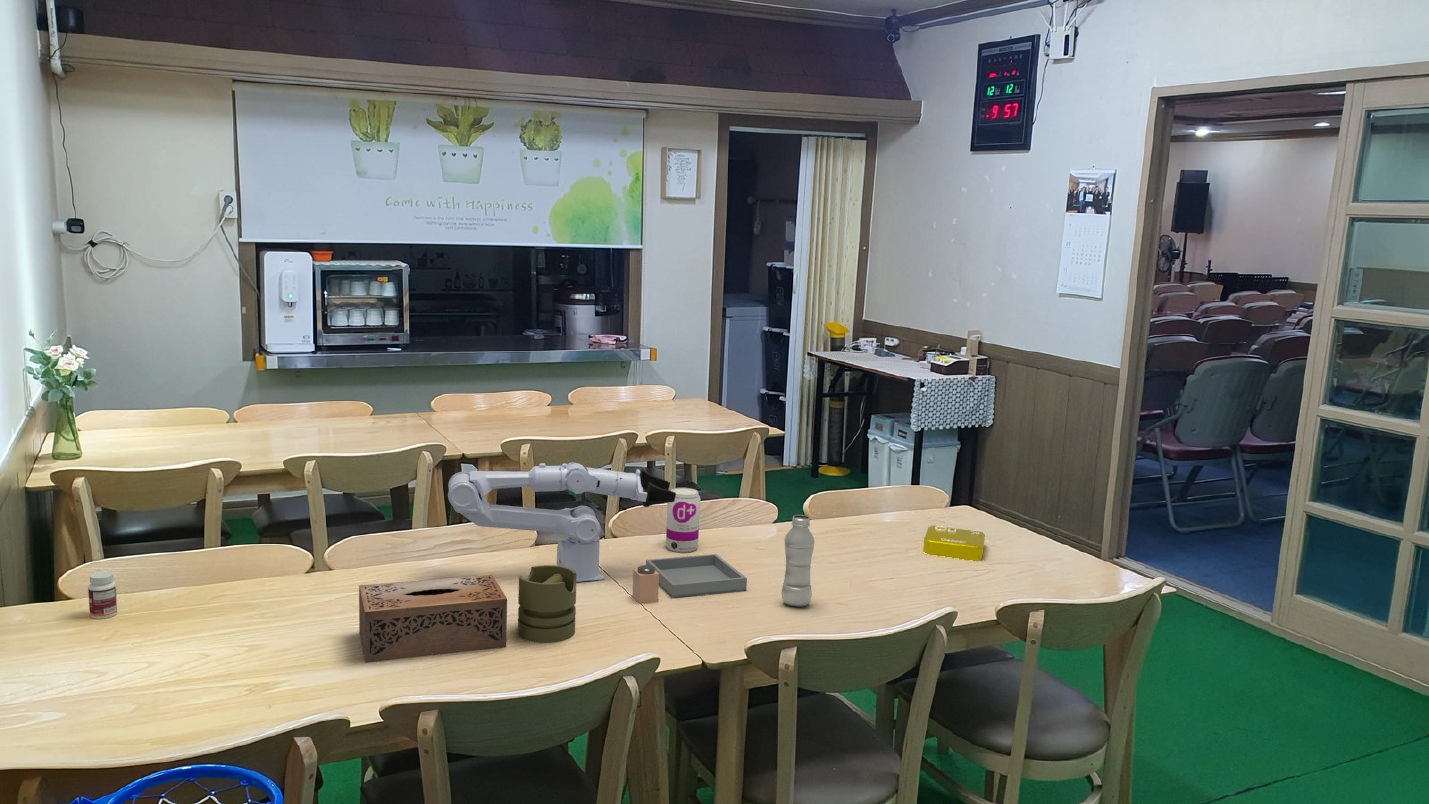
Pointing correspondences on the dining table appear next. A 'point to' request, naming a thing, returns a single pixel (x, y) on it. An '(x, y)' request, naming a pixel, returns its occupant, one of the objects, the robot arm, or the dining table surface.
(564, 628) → the piston
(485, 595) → the tissue box cover
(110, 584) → the pill bottle
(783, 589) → the plastic bottle
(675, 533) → the supplement can
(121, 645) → the dining table surface
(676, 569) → the tray
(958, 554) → the element tile
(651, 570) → the shaker
